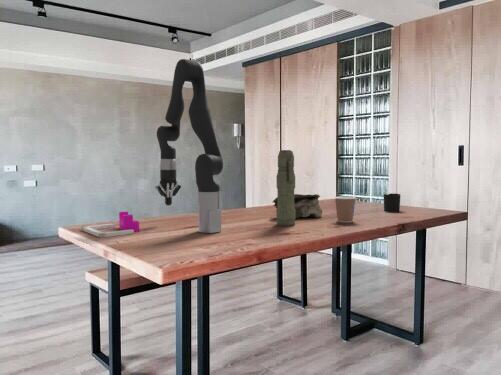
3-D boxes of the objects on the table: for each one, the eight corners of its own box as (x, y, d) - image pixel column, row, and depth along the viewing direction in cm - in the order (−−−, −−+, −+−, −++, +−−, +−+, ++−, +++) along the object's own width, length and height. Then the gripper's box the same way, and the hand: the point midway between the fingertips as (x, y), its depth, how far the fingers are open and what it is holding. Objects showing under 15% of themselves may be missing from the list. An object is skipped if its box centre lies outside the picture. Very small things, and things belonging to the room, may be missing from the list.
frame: (133, 233, 176) (133, 230, 176) (100, 237, 167) (100, 233, 167) (112, 226, 194) (112, 223, 194) (81, 230, 185) (81, 226, 185)
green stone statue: (284, 227, 191) (284, 149, 189) (271, 223, 202) (271, 150, 199) (300, 225, 195) (300, 150, 193) (287, 222, 206) (287, 150, 203)
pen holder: (401, 212, 242) (401, 194, 242) (384, 211, 244) (384, 194, 243) (398, 210, 252) (398, 193, 251) (382, 209, 253) (382, 193, 253)
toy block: (139, 232, 181) (138, 214, 181) (124, 233, 179) (123, 215, 178) (133, 227, 195) (133, 211, 194) (119, 228, 192) (119, 211, 192)
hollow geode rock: (274, 227, 218) (280, 209, 207) (267, 209, 226) (273, 190, 215) (323, 223, 226) (331, 205, 215) (315, 205, 234) (323, 187, 223)
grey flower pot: (357, 222, 202) (358, 198, 201) (336, 222, 203) (336, 198, 202) (353, 219, 213) (353, 196, 212) (332, 219, 213) (333, 196, 212)
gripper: (159, 169, 191) (159, 207, 192) (184, 168, 199) (184, 205, 200) (151, 168, 196) (152, 205, 198) (176, 168, 205) (176, 203, 206)
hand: (168, 205), depth 199 cm, fingers closed
